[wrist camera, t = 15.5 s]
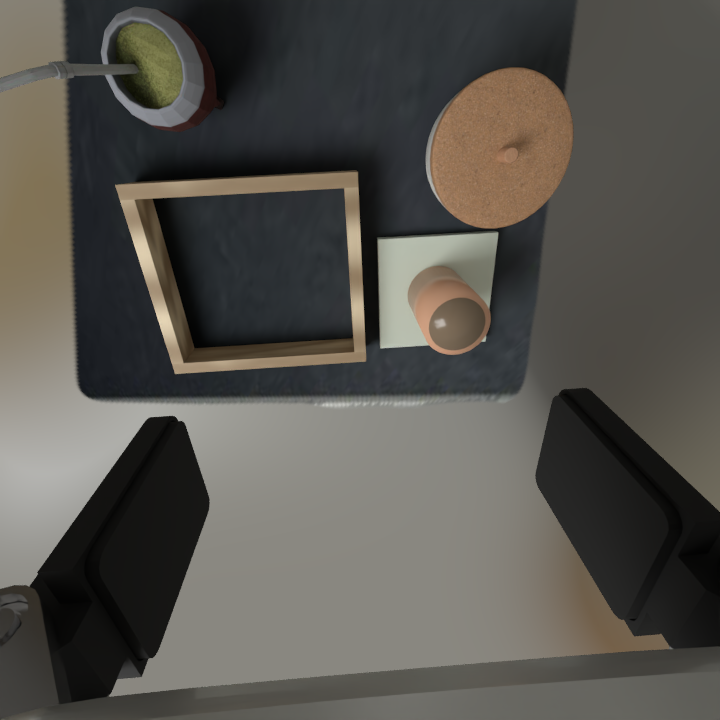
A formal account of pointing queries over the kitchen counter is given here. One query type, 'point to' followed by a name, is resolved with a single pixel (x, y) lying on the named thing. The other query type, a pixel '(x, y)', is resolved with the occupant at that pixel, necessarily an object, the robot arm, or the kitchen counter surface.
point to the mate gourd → (146, 70)
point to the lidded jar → (500, 147)
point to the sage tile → (417, 253)
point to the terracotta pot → (448, 310)
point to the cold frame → (166, 293)
